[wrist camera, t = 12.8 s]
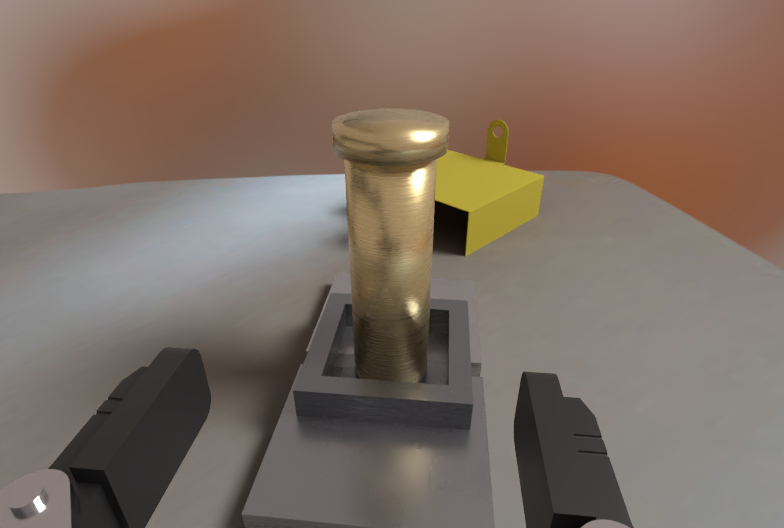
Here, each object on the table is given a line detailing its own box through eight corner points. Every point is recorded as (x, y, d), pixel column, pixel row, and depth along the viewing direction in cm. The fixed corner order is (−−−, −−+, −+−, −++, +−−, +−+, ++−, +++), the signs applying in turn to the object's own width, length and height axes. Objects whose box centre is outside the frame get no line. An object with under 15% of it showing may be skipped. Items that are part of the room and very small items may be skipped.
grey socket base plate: (245, 530, 18) (234, 487, 17) (338, 285, 33) (335, 252, 31) (492, 556, 17) (500, 513, 16) (473, 292, 32) (476, 259, 31)
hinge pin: (338, 393, 23) (319, 135, 17) (355, 334, 26) (344, 107, 20) (433, 400, 22) (448, 139, 16) (436, 339, 26) (449, 109, 20)
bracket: (306, 136, 38) (431, 106, 47) (314, 226, 42) (429, 182, 51) (466, 187, 28) (584, 137, 38) (457, 297, 32) (566, 227, 42)
